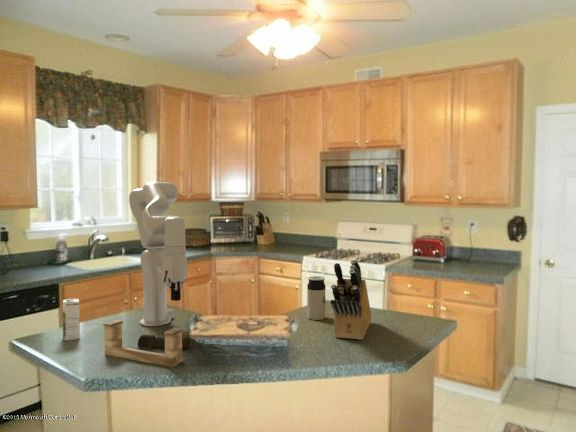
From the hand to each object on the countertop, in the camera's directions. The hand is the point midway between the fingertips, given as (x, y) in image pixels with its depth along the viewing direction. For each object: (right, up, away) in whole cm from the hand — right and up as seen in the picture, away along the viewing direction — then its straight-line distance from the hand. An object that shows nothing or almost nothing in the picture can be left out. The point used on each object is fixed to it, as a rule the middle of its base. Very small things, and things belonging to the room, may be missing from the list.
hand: (175, 300), depth 167 cm
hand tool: (-3, -16, -6) cm, 18 cm away
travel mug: (+54, -14, +33) cm, 65 cm away
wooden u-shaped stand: (-7, -17, -16) cm, 24 cm away
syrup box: (-41, -16, +5) cm, 44 cm away
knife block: (+67, -15, +12) cm, 69 cm away
